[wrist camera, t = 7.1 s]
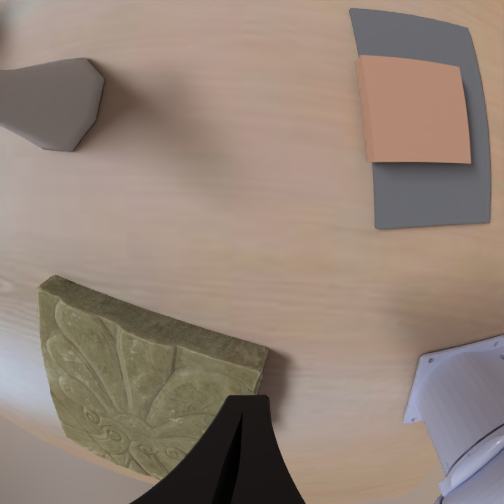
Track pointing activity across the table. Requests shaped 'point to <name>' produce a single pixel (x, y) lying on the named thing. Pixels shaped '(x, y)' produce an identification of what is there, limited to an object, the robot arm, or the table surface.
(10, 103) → the flask
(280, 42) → the table surface
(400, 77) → the tile
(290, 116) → the table surface
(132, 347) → the decorative tile
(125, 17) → the table surface
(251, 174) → the table surface
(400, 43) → the mat
